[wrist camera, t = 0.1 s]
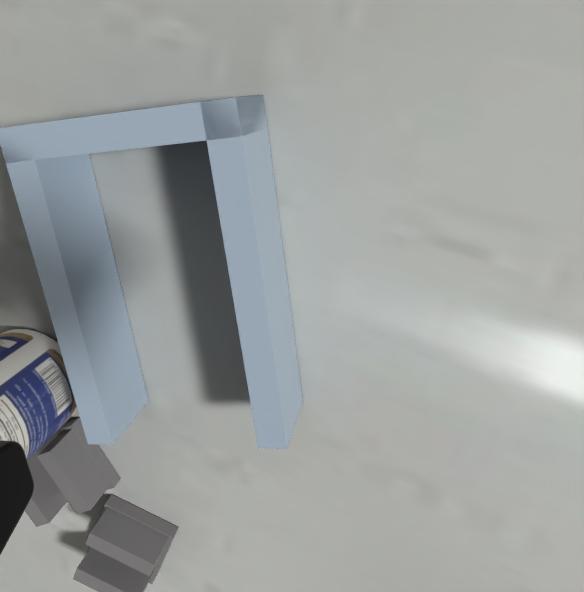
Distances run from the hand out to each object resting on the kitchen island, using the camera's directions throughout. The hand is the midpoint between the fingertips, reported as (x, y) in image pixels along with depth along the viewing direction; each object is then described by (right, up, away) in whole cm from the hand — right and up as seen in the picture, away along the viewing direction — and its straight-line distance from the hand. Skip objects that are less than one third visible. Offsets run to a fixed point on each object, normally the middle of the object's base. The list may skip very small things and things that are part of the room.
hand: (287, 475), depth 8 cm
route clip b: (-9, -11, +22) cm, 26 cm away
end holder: (-4, +4, +16) cm, 17 cm away
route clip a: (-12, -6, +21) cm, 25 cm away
